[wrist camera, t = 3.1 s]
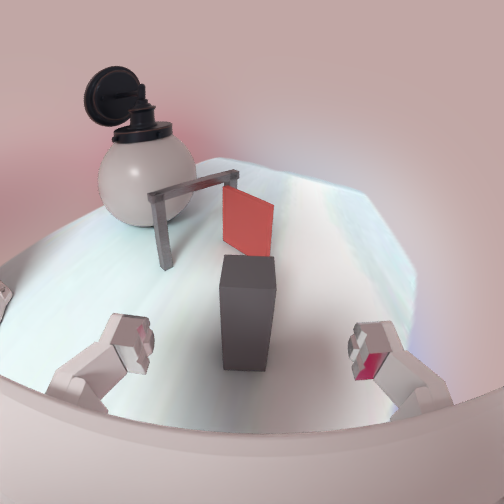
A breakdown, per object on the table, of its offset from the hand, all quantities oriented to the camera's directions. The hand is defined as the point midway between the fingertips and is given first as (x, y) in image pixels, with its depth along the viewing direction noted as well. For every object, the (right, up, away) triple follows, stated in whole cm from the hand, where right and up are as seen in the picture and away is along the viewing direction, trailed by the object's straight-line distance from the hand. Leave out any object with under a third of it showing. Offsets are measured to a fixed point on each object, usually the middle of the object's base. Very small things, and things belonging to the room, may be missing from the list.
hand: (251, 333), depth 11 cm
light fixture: (-22, +10, +47) cm, 53 cm away
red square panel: (-1, +3, +37) cm, 37 cm away
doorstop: (-1, -8, +20) cm, 22 cm away
